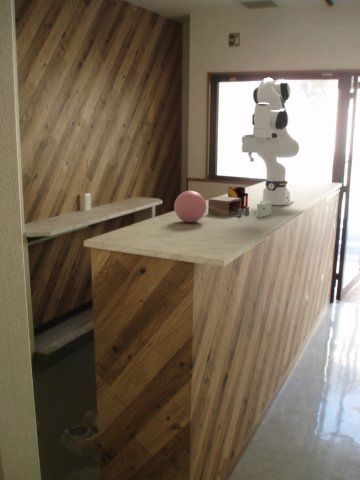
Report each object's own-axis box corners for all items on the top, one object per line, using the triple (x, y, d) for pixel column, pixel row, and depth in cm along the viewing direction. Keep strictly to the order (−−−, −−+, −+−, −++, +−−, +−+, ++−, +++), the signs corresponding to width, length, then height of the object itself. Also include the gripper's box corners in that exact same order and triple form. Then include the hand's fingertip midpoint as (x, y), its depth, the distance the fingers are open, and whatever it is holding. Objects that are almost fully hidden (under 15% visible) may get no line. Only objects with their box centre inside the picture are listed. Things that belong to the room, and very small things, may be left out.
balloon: (215, 220, 245) (216, 189, 241) (196, 226, 228) (196, 193, 225) (188, 217, 252) (189, 187, 249) (168, 223, 236) (168, 191, 232)
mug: (246, 211, 272) (247, 189, 269) (224, 209, 279) (225, 188, 276) (253, 209, 280) (254, 188, 277) (232, 206, 287) (232, 186, 284)
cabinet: (221, 210, 274) (222, 196, 272) (250, 213, 264) (251, 199, 262) (208, 213, 263) (208, 199, 261) (237, 217, 252) (238, 202, 251)
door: (266, 214, 264) (267, 201, 263) (272, 214, 263) (272, 201, 261) (256, 217, 255) (257, 203, 253) (262, 217, 253) (262, 204, 252)
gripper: (243, 134, 251) (242, 161, 254) (282, 134, 253) (281, 161, 255) (240, 134, 257) (239, 161, 260) (278, 135, 259) (277, 161, 262)
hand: (260, 161), depth 258 cm, fingers open, 8 cm apart
